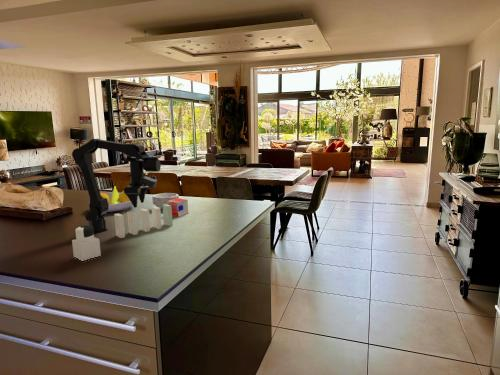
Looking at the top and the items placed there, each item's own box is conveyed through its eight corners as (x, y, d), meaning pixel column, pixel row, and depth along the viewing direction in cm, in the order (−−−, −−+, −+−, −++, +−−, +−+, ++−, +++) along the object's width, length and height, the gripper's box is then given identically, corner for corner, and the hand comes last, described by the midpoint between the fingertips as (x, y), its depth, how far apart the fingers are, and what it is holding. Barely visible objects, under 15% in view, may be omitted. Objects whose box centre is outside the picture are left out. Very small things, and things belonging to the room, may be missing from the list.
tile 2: (133, 235, 154) (131, 213, 152) (129, 232, 158) (127, 211, 156) (137, 234, 156) (136, 212, 154) (133, 231, 159) (131, 210, 157)
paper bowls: (182, 205, 210) (181, 192, 209) (174, 211, 196) (173, 197, 194) (158, 204, 212) (157, 192, 210) (149, 211, 197) (148, 197, 196)
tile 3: (146, 232, 158) (144, 211, 156) (141, 229, 162) (139, 209, 160) (150, 231, 160) (148, 210, 158) (145, 228, 163) (143, 208, 161)
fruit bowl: (128, 214, 190) (127, 194, 188) (80, 215, 191) (78, 195, 189) (145, 203, 218) (143, 185, 216) (103, 203, 218) (101, 186, 216)
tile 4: (157, 229, 162) (156, 208, 161) (152, 227, 166) (151, 207, 164) (161, 228, 164) (160, 207, 162) (156, 226, 167) (155, 206, 165)
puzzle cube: (177, 211, 194) (176, 198, 193) (188, 213, 190) (187, 199, 189) (167, 215, 188) (166, 201, 186) (178, 216, 184) (177, 202, 182)
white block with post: (92, 252, 134) (89, 223, 132) (101, 256, 129) (98, 226, 127) (73, 258, 129) (70, 227, 126) (82, 262, 124) (78, 231, 122)
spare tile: (169, 226, 166) (167, 206, 165) (163, 224, 170) (162, 204, 168) (172, 225, 168) (171, 205, 166) (167, 223, 171) (166, 204, 170)
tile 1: (120, 238, 150) (118, 216, 148) (116, 235, 154) (114, 214, 152) (125, 237, 152) (123, 215, 150) (120, 234, 155) (118, 213, 153)
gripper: (148, 174, 145) (150, 210, 148) (160, 168, 163) (162, 200, 166) (122, 174, 145) (124, 210, 148) (137, 168, 164) (139, 200, 166)
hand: (139, 205), depth 157 cm, fingers open, 9 cm apart
